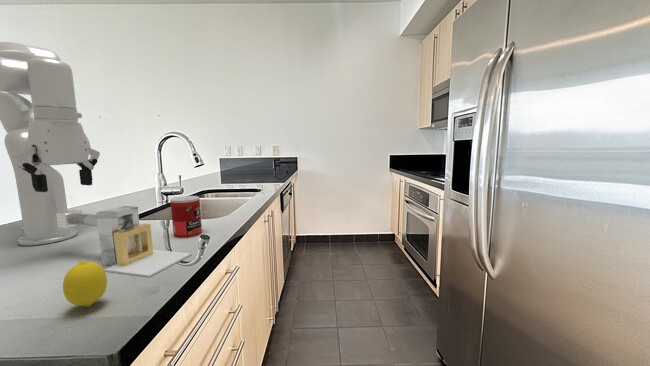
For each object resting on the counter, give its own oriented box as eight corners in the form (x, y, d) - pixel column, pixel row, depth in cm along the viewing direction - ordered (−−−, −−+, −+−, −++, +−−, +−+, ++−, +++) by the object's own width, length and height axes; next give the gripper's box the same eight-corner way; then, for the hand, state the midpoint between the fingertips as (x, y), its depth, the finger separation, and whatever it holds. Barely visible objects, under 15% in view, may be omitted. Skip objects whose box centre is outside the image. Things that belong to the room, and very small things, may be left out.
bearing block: (102, 264, 64) (95, 212, 63) (129, 253, 71) (124, 206, 69) (116, 266, 63) (109, 213, 62) (142, 254, 70) (137, 206, 68)
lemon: (83, 298, 50) (77, 255, 49) (116, 296, 51) (111, 253, 49) (57, 317, 45) (49, 269, 44) (94, 315, 45) (88, 267, 44)
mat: (104, 271, 61) (104, 269, 61) (151, 250, 72) (151, 249, 72) (149, 277, 58) (149, 275, 58) (191, 255, 69) (191, 253, 69)
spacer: (117, 265, 63) (113, 232, 62) (146, 252, 70) (143, 223, 69) (124, 266, 62) (120, 233, 61) (153, 253, 69) (150, 224, 68)
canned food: (191, 238, 82) (188, 200, 80) (167, 237, 83) (163, 200, 82) (207, 230, 89) (205, 196, 87) (184, 229, 91) (182, 195, 89)
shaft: (58, 227, 69) (56, 212, 68) (74, 223, 72) (72, 209, 72) (115, 232, 64) (113, 216, 64) (130, 227, 68) (128, 213, 67)
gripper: (83, 118, 76) (91, 182, 79) (-5, 112, 59) (8, 193, 62) (105, 118, 74) (112, 183, 77) (20, 112, 57) (32, 196, 60)
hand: (65, 188), depth 69 cm, fingers open, 9 cm apart
